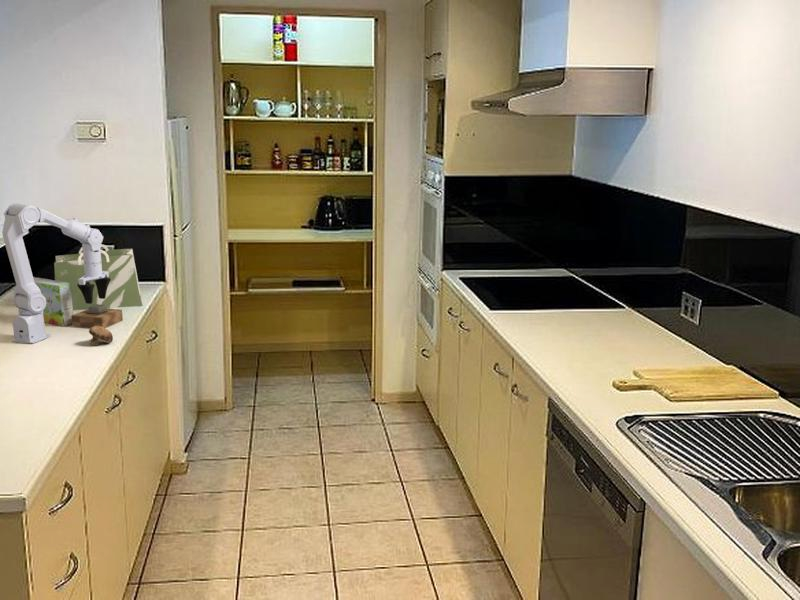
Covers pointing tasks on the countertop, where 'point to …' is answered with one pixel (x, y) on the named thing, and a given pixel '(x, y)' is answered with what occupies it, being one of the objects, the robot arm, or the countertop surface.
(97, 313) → the square bit
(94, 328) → the mushroom
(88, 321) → the socket block
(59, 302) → the snack box
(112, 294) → the grocery bag
